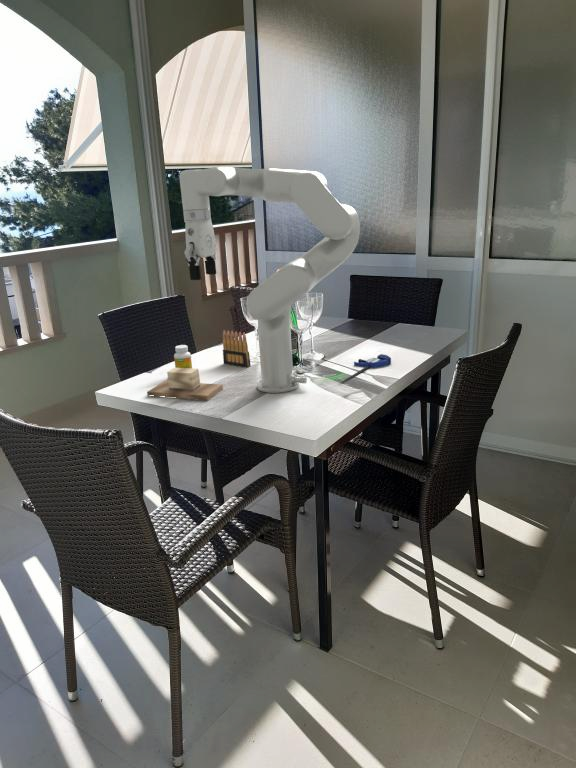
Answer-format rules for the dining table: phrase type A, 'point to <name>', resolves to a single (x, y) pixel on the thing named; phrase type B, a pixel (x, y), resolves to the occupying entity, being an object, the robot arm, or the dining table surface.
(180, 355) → the supplement bottle
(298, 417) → the dining table surface
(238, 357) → the ammunition clip
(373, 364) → the bar clamp
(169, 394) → the board
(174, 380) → the block
